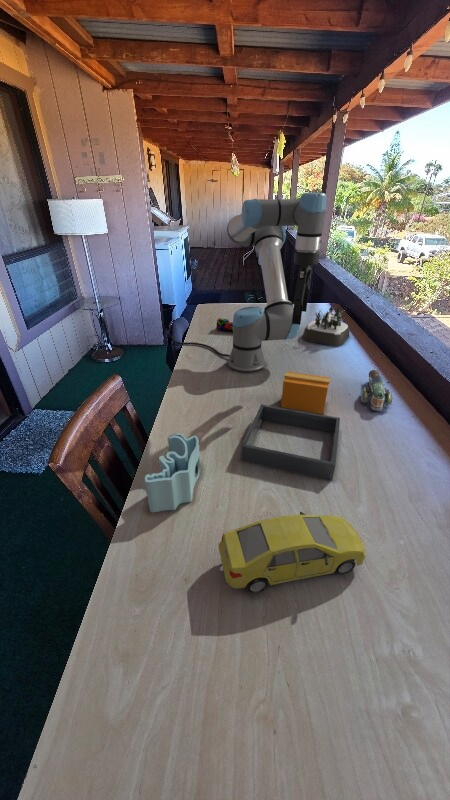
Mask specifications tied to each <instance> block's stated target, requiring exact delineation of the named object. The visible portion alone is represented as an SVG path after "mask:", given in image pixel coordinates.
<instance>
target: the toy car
mask: <svg viewBox="0 0 450 800" xmlns="http://www.w3.org/2000/svg"><path fill="white" fill-rule="evenodd" d="M218 552H219V555H220V560H221V565H222V569H223V574H224V579H225V582H226V584H228V585H229V586H230V587H232V588H234V590H235V589H245V588H246V591H247V592H248V593H251V594H257V593H261V592H263V591H265V589H267V588H268V586H269V585H270V586H273V585H279V584H284V583H287V582H293V581H298V580H304V579H309V578H314V577H319V576H325V575H330V574H334V573H336V574H338V575H345V574H349V573H350V572H351V571H353V569H355V567H356V566H357V567H358V566H361V565H362V564H363V563H364V560H365V558H366V556H367V554H366V548H365V544H364V542H363V540H362V538H361V536H360V534H359V532H358V530H357V529H356V528H355V527H354V526H353V525H352V524H351V523H350V522H349V521H348V520H347V519H345V518H344V517H342V516H338V515H333V514H325V515H324V514H323V515H322V514H321V515H317V514H315V515H314V514H306V513H304V512H303V511H300V512H299V514H289V515H283V516H282V515H281V516H276V517H272V518H267V519H263V520H258V521H256V522H253V523H249V524H247V525H244V526H241V527H239V528H236V529H232V530H229V531H226V532H223V534H222V535H221V540H220V542H219V543H218Z"/></svg>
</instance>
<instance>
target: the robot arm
mask: <svg viewBox="0 0 450 800" xmlns="http://www.w3.org/2000/svg"><path fill="white" fill-rule="evenodd" d="M327 200H328V197H327V194H326V193H324V192H303V193H302V194H301V196H300V197H294V198H276V199H275V198H274V199H273V198H269V199H267V198H265V199H262V198H252V199H245V200H244V201H243V202H242V205H241V213H240V214H236V215H234V216H233V217H231V218H230V220H229V221H228V223H227V226H226V233H227V236H228V238H229V239H230V241H232V242H233V243H234V244H236V245H238V246H242V247H254V251H255V252H256V254H258V255H259V259H260V264H261V272H262V279H263V287H264V292H265V293H264V294H265V300H266V306H265V307H264V308H262V307H260V306H246V307H242V308H239V309H237V310H236V311H235V312H234V313H233V316H232V317H233V318H232V323H233V330H232V349H231V351H230V354H227V353H222V352H219V351H218V350H217V349H216V348H214V347H212V346H210V345H208V344H205V343H201V342H194V341H193V342H192V341H191V342H183V341H177V340H175V338H174V335H170V336H169V339H171V340H172V341H173V343H175V344H177V345H195V346H201V347H205V348H208V349H209V350H212V351H213V352H215V353H216V354H217V355H219V356H222V357H227V358H228V360H227V361H228V363H227V365H228V367H229V368H230V369H232V370H233V371H236V372H241V373H253V372H258V371H261V370H262V369H264V368H265V365H266V359H265V355H264V352H263V348H262V343H263V342H266V341H280V340H281V341H282V340H284V341H286V340H291V339H295V338H296V337H297V335H298V333H299V331H300V327H301V321H302V315H303V314H302V313H303V312H305V313H307V309H308V300H309V295H310V294H309V293H311V292H312V289H311V278H312V273H313V269H312V267H314V266H315V267H316V266H317V265H319V259H320V252H319V251H320V250H321V245H322V244H323V243H324V239H322V238H323V237H322V236H323V231H324V223H325V217H326V212H327ZM286 227H297V229H296V236H295V246H294V249H295V251H294V258H293V263H294V264H295V265H296V266H300V268H299V269H298V270H297V280H296V285H295V291H294V296H293V301H290V300H289V297H288V291H287V285H286V278H285V272H284V266H283V261H282V254H281V250H282V248H283V245H284V244H285V242H286V238H287V233H286V231H287V228H286Z"/></svg>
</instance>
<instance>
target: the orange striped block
mask: <svg viewBox="0 0 450 800" xmlns="http://www.w3.org/2000/svg"><path fill="white" fill-rule="evenodd" d="M330 381H331V379H330V376H324V375H323V376H321V375H315V374H308V373H302V372H301V373H300V372H293V371H286V372H285V373H284V376H283V382H282V389H281V391H282V392H281V402H280V408H285V409H291V410H297V411H303V412H308V413H314V414H320V415H324V413H325V407H326V402H327V396H328V390H329V385H330Z"/></svg>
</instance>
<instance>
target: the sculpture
mask: <svg viewBox="0 0 450 800" xmlns="http://www.w3.org/2000/svg"><path fill="white" fill-rule="evenodd" d="M215 329H216V330H219V331H227V330H232V331H233V321H230V319H227V318H222V317H220V318H218V319H216V328H215Z"/></svg>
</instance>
